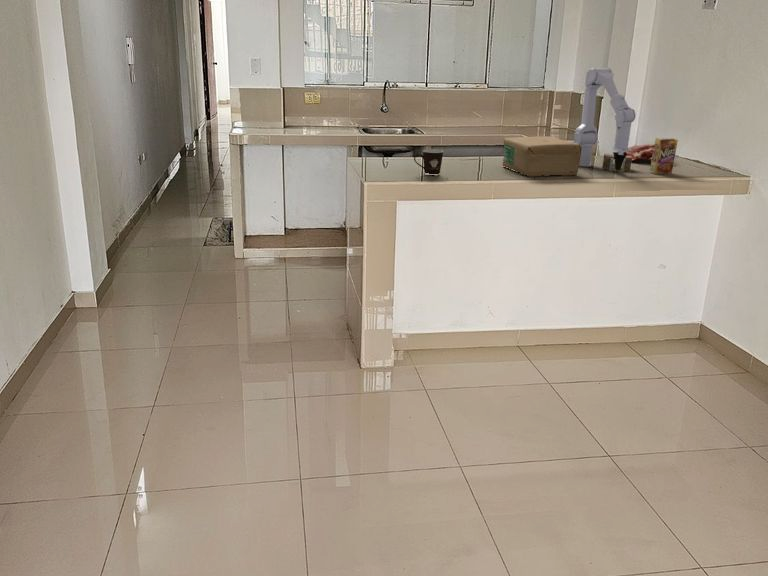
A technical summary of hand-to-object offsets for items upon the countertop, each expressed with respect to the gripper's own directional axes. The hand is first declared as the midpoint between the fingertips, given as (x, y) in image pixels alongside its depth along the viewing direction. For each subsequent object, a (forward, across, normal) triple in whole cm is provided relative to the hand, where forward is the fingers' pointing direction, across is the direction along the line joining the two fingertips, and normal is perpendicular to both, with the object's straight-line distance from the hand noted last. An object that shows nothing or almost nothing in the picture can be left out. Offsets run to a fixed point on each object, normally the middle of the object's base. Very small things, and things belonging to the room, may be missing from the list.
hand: (617, 169), depth 295 cm
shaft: (+2, +7, 0) cm, 7 cm away
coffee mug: (+3, -31, +78) cm, 84 cm away
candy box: (+3, +11, -19) cm, 22 cm away
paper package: (+3, -5, +34) cm, 34 cm away
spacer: (+2, +10, 0) cm, 10 cm away
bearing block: (+2, +14, 0) cm, 14 cm away
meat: (+3, +43, -14) cm, 45 cm away
